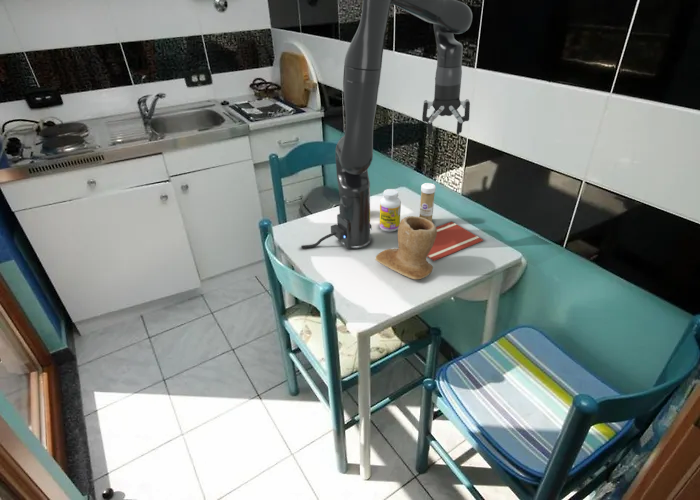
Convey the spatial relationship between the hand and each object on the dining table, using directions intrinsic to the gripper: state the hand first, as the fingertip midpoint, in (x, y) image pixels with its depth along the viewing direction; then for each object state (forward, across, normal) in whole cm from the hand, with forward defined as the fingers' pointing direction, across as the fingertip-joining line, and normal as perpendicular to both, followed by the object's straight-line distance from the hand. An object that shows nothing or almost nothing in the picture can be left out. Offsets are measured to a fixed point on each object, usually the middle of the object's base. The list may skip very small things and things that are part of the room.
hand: (444, 133), depth 133 cm
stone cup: (+24, -10, -38) cm, 47 cm away
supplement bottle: (+26, -17, -16) cm, 35 cm away
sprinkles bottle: (+26, -5, -12) cm, 29 cm away
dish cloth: (+25, 0, -23) cm, 34 cm away
